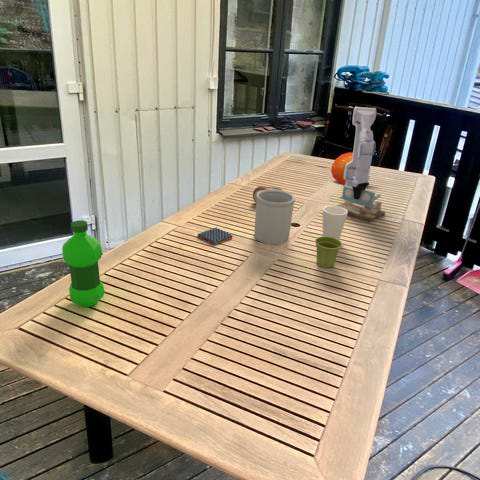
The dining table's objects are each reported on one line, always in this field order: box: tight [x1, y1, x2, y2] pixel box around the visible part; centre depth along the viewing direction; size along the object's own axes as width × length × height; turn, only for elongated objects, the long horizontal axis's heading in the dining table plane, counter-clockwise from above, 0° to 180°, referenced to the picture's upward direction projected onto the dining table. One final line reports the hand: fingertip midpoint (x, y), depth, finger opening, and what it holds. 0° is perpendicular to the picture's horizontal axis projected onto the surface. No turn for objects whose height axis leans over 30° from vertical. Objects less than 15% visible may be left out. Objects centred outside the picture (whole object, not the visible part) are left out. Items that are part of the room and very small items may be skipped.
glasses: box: [341, 185, 381, 207], centre depth 202 cm, size 10×14×6 cm
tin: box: [252, 185, 284, 203], centre depth 206 cm, size 15×3×8 cm, turn 84°
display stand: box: [336, 200, 386, 223], centre depth 203 cm, size 14×19×6 cm
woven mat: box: [196, 226, 233, 246], centre depth 172 cm, size 10×11×2 cm
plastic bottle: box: [61, 220, 105, 308], centre depth 123 cm, size 10×10×25 cm
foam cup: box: [322, 205, 348, 241], centre depth 173 cm, size 10×9×13 cm
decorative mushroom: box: [330, 151, 357, 185], centre depth 244 cm, size 15×21×15 cm
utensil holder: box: [254, 189, 296, 245], centre depth 172 cm, size 15×15×18 cm
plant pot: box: [314, 236, 343, 269], centre depth 156 cm, size 9×9×9 cm
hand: (357, 198), depth 199 cm, fingers closed on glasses, 2 cm apart
